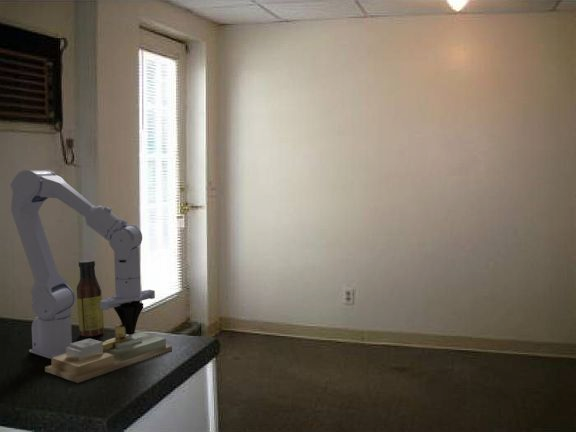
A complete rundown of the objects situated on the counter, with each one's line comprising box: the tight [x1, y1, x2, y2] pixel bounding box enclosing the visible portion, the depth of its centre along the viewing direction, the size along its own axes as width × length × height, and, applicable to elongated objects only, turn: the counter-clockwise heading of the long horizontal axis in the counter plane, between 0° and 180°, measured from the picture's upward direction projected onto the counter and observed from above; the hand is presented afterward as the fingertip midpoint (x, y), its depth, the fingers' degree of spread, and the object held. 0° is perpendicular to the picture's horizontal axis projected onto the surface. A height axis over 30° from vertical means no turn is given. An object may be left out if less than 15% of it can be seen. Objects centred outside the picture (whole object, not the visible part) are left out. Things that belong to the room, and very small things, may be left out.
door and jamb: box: [44, 331, 173, 384], centre depth 134 cm, size 12×26×3 cm, turn 144°
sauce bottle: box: [76, 259, 105, 338], centre depth 155 cm, size 7×6×20 cm
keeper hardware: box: [66, 334, 142, 362], centre depth 133 cm, size 5×17×3 cm, turn 144°
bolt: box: [102, 323, 127, 350], centre depth 134 cm, size 2×8×4 cm, turn 144°
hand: (129, 333), depth 138 cm, fingers closed
